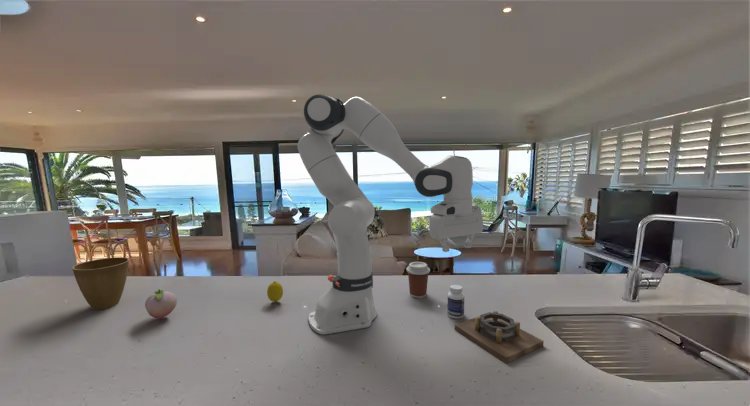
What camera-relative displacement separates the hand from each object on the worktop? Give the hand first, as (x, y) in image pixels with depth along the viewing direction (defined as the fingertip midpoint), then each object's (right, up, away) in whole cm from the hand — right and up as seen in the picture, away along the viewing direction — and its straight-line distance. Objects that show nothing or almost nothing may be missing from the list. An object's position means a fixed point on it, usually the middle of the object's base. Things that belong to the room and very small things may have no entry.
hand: (457, 249), depth 94 cm
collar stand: (+8, -24, -11) cm, 27 cm away
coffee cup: (-10, -21, +19) cm, 30 cm away
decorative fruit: (-97, -23, +2) cm, 100 cm away
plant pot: (-125, -23, +12) cm, 128 cm away
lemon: (-63, -22, +13) cm, 68 cm away
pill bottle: (0, -22, +2) cm, 23 cm away
